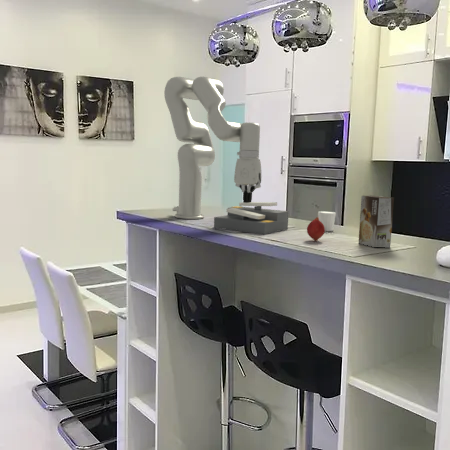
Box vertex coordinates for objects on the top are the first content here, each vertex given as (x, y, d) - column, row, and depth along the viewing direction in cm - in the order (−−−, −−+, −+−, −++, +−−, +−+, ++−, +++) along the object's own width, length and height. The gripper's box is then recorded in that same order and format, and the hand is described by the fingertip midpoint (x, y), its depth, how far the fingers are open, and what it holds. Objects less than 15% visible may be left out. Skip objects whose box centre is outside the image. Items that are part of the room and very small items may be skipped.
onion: (304, 241, 168) (306, 217, 167) (308, 238, 174) (309, 215, 172) (322, 242, 166) (324, 218, 165) (325, 240, 172) (326, 216, 170)
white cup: (333, 229, 200) (334, 211, 199) (335, 231, 194) (337, 213, 193) (316, 228, 201) (317, 210, 200) (317, 230, 194) (318, 212, 193)
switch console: (213, 227, 192) (214, 205, 190) (239, 223, 206) (240, 203, 205) (264, 234, 179) (265, 211, 178) (287, 229, 194) (288, 208, 193)
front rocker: (226, 211, 190) (226, 208, 190) (233, 210, 194) (233, 207, 194) (258, 219, 183) (258, 216, 182) (264, 218, 187) (265, 215, 187)
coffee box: (391, 247, 162) (395, 197, 160) (375, 248, 159) (379, 197, 157) (372, 242, 170) (376, 195, 168) (357, 243, 168) (360, 195, 166)
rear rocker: (239, 205, 197) (239, 202, 197) (246, 205, 201) (245, 202, 201) (270, 206, 190) (270, 203, 189) (277, 205, 194) (277, 202, 194)
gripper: (227, 154, 197) (225, 201, 199) (261, 155, 188) (259, 204, 191) (237, 155, 203) (236, 200, 205) (270, 156, 195) (268, 203, 197)
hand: (247, 202), depth 198 cm, fingers closed
